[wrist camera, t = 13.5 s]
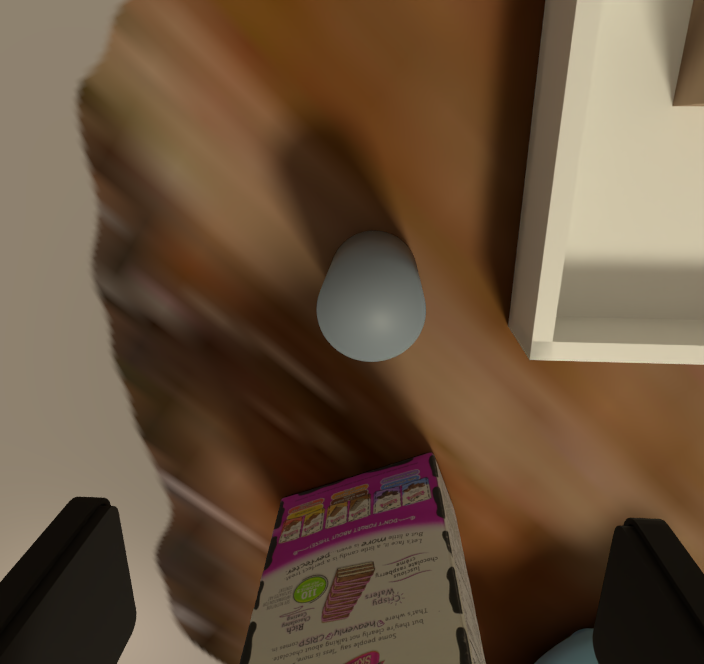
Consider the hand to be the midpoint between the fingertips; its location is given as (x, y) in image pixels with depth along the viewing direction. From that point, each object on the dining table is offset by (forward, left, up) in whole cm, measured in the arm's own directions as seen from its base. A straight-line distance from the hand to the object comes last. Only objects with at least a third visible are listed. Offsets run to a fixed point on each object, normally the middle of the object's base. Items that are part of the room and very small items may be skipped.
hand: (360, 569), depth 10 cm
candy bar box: (+16, 0, -23) cm, 28 cm away
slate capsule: (0, 0, -23) cm, 23 cm away
